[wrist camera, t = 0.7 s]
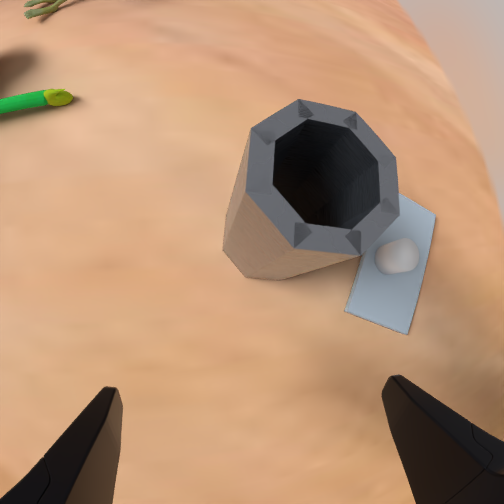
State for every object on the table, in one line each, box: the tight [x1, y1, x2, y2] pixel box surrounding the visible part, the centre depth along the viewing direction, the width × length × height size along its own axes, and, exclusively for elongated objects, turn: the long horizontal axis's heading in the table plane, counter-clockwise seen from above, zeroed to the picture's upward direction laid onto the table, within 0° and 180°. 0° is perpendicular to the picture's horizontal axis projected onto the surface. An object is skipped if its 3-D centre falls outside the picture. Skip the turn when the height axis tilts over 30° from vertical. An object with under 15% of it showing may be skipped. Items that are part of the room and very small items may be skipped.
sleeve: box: [223, 99, 400, 280], centre depth 17 cm, size 6×6×12 cm
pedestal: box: [344, 193, 436, 335], centre depth 23 cm, size 11×6×3 cm, turn 159°
